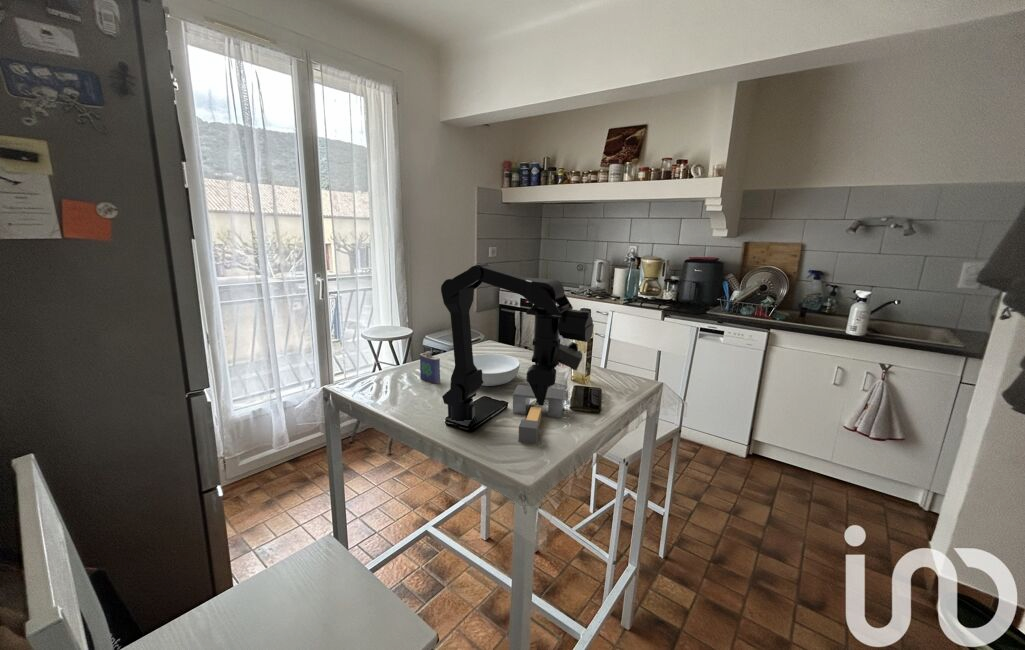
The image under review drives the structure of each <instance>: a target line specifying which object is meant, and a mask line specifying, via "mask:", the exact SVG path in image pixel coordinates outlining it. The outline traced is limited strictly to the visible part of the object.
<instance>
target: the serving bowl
mask: <svg viewBox="0 0 1025 650" xmlns="http://www.w3.org/2000/svg"><path fill="white" fill-rule="evenodd" d="M473 363H474V365H475V367H476V368H477V370H480V369H481V370H482V380H483V382H484V383H483V384H482V387H483V386H485V387H486V386H487V387H491V386H493V387H494V386H500V385H504V384H507V383H509V382H511V381H512V380H513V379H514V378H515V377H516V376H517V375H518V373H519V371H520V370H519V369H520V367H521V366H520V365H521V363H520V360H519V359H517V358H516V357H514V356H511V355H508V354H502V353H501V354H500V353H479V354H473Z"/></svg>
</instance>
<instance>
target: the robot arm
mask: <svg viewBox="0 0 1025 650" xmlns="http://www.w3.org/2000/svg"><path fill="white" fill-rule="evenodd" d="M483 283H485V284H488V285H490V286H492V287H496V288H500V289H503V290H506V291H509V292H511V293H514V294H517V295H520V296H522V297H523V298H524V299H525V300H526V301H527V302H529V303H530V304H533V305H532V306H531V307H530V308H529V309H527V311H525V313H526V315H528V316H529V315H530V316H534V329H533V339H532V343H531V344H532V346H533V351H532V357H531V363H533V364H532V365H530V367H528V369H527V372H526V380H525V381H526V382H527V383H528V384H529V386H531V388H532V391H533V393H534V395H535V397H536V399H535V401H536V402H537V404H538V405H539V406H544V404H545V401H546V400H545V397H546V394H547V390H548V388H551V387H552V386H554V385H555V384H556V380H557V369H556V367H557V366H558V365H560V364H561V365H564V366H566V367H569V368H570V369H571V370H573V371H577V370H578V367H579V366H580V363H581V361H582V359H583V352H582V351H581V350H579V347H578V346H579V345H578V343H575V342H573V341H578V342H579V341H580V342H583V343H589V342H590V341H591V339H592V337H593V333H594V326H595V325H594V321H593V317H592V311H590V310H588V309H587V310H580V309H574V307H573V305H572V304H571V302H570V300H569V299H568V297H567V295H566V293H565V288H564V286H563V283H562V282H560V281H559V280H558V279H550V278H543V277H542V278H541V277H539V278H538V277H527V276H524V275H521V274H518V273H515V272H511V271H508V270H504V269H501V268H498V267H496V266H492V265H489V264H488V263H477V264H473V265H472V266H470V267H469V268H468V269H467V270H465V271H463V272H461V273H460V274H458V275H456V276H454V277H453V278H447V279H445V280H444V281H443V283H442V284H441V285H440V293H441V297H442V302H443V305H444V306H445V307H446V309H447V310H448V312H449V315H450V325H451V337H452V347H453V359H454V367H453V368H454V369H453V371H452V373H451V376H450V386H449V387H450V389H448V391H447V392H445V393H444V394H443V395H442V400H443V404H445V405H447V419H448V418H451V419H452V420H456V421H464V420H472V419H473V418H474V416H475V417H476V405H475V403H474V399H473V398H474V397H476V396H477V394H478V393H479V391H480V390H481V389H482V387H483V385H482V384H483V383H484V382H483V380H482V370H481V369H480V370H477V368H476V367H475V365H474V363H473V355H474V353H473V342H472V339H473V338H472V331H471V329H472V328H471V327H472V326H471V317H470V310H471V307H472V305H473V302H474V298H475V297H474V295H475V290H476V289H478V288H479V287H481V285H482V284H483ZM560 336H561V338H562V339H566V340H572V342H570V343H569V344H565V345H564V344H562V343H561V338H560ZM559 363H560V364H559ZM474 419H475V418H474ZM445 425H449V424H448V423H447V422H446V421H445Z"/></svg>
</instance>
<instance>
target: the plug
mask: <svg viewBox="0 0 1025 650" xmlns="http://www.w3.org/2000/svg"><path fill="white" fill-rule="evenodd" d="M542 411H543V407H539V406H530V408H529V411H528V414H527V416H526V419H523V418H522V419H521V420H520V423H519V426H518V442H519V443H527V444H535V445H536V444H537V443H538V439H539V435H540V434H539V433H540V423H541V420H542Z"/></svg>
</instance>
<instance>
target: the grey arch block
mask: <svg viewBox="0 0 1025 650" xmlns="http://www.w3.org/2000/svg"><path fill="white" fill-rule="evenodd" d="M531 399H534V400H536V397H535V395H534V393H533V391H532V388H531V386H530V385H526V384H525V385H523V384H517V386H516V388H515V390H514V391H513V393H512V414H520V415H526V414H527V411H528V408H529V406H530V405H531V401H530V400H531ZM545 401H548V402H547V403H548V407H547V408H548V409H547V410H548V411H547V417H548V418H554V419H555V418H556V419H562V416H563V411H564V404H565V403H564V402H565V389H564V388H553V387H548V390H547V394H546V397H545Z"/></svg>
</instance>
